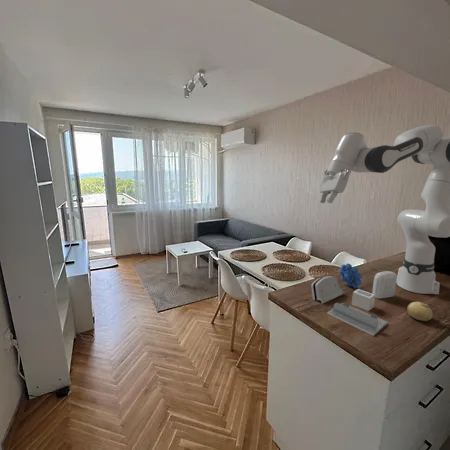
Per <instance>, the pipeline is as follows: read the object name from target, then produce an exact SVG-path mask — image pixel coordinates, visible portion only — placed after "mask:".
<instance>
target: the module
mask: <svg viewBox="0 0 450 450" xmlns="http://www.w3.org/2000/svg"><path fill="white" fill-rule="evenodd" d="M351 297H352V299H351V305H352V306H355V307H357V308H359V309H362V310H365V311H366V312H369V311H370V310H372V309H373V308H374V307H375V299H376V298H375V294H372V292H369V291H366V290H363V289H361V288H356V289H355V290H354V291H353V292H352V296H351Z"/></svg>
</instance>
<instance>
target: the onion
mask: <svg viewBox="0 0 450 450" xmlns="http://www.w3.org/2000/svg"><path fill="white" fill-rule="evenodd" d="M428 304H429V303H423V302H421V301H413V302H410V303H409V304H408V305H407V306H406V308H407V309H406V310H407V314H408V315H409V316H410V317H411V318H413V319H415V320H417V321H420V322H428V321H430V320H431V319H433V316H434V313H433V310H432V309H431V307H430V306H429V305H428Z"/></svg>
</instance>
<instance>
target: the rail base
mask: <svg viewBox="0 0 450 450" xmlns="http://www.w3.org/2000/svg"><path fill="white" fill-rule="evenodd" d="M327 315H329V316H331V317H333V318H335V319H337V320H339V321H341V322H344V323H346V324H347V325H350V326H352V327H353V328H356V329H358V330H360V331H362V332H363V333H367V334H368V335H371V336H373V337H374V336H375V335H377V334H378V333H379V332H380V331H381V330H382V329H383V328H384V327H385V326H386V325H388V323H389V322H388V321H387V320H385V319H382V318H380V317H378V315H377V314H375V313H372V314H370V313H367V311H366V312H365V311H363V310H360V309H358V308H356V307H353V306H351V305H350V303H348V302H342V303H340V302H336V303H334V304H333V308H332V309H330V310H329V311H327Z"/></svg>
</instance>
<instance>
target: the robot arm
mask: <svg viewBox="0 0 450 450" xmlns="http://www.w3.org/2000/svg"><path fill="white" fill-rule="evenodd" d="M443 134H444V132H443V130H442V128H441V127H440V126H439V125H436V124H427V125H422V126H417V127H413V128H411V129H409V130H406V131H404V132H402V133H400V134H399V135H398V136H396V137H395V140H394V142H393V145H387V144H386V145H379V146H374V147H369V146H367V144H366V142H365V139H364V138H365V136H364V135H363V134H362V133H360V132H348V133H345V134H344V135H343V136H342V137H341V138H340V140H339V142H338V144H337V146H336V148H335V150H334V151H335V152H334V156H333V158H332V159H331V160H330V163H329V165H328V167H327V169H326V170H325V171H324V173H323V176H324V177H323V179H322V182H321V185H320V187H319V192H320V193H321V196H320V200H319V202H320V204H326V202H327V203H328V204H332V203H333V202H334V201H335V199H336V198H337V196H338V194H339V193H340V194H341V193H344V192H345V189H346V187H347V184H348V182H349V178H350V175H351V173H352V172H354V173H375V174H376V173H377V174H384V173H387V172H388V171H390V170H391V169H393V167H395V165H397V164H398V163H399V162H402V161H403V160H406V159H408V158H410V157H411V159H412V161H414V162H415V163H416V164H421V165H425V164H428V165H429V164H430V165H433V166H432V167H433V168H432V170H431V172H430V173H429V175H428V177H427V180H426V182H425V184H424V187H423V189H422V191H421V194H420V197H421V199H422V200H423V202H424V203H425V210H422V209H415V208H414V209H413V208H411V209H410V208H409V209H404V210H402V211H401V212H399V214H398V216H397V217H396V219H397V224H398V226H399V227H400V228H401V229H402V232H403V234H404V235H403V236H404V237H405V238H404V239H405V243H406V245H405V253H404V254H405V255H404V258H403V261H402V266H400V267H399V268H398V272H397V281H396V285H397V286H398V287H400V288H402V289H404V290H406V291H408V292H412V293H415V294H426V295H429V294H430V295H431V294H432V295H440V286H441V285H440V284H441V283H440V282H439V281H436V272H435V270H434V269H435V255H436V246H435V245H434V243H433V242H431V240H430V238H429V237H434V238H445V239H446V238H449V237H450V137H444V136H443ZM328 195H329V197H328ZM327 197H328V198H327Z"/></svg>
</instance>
